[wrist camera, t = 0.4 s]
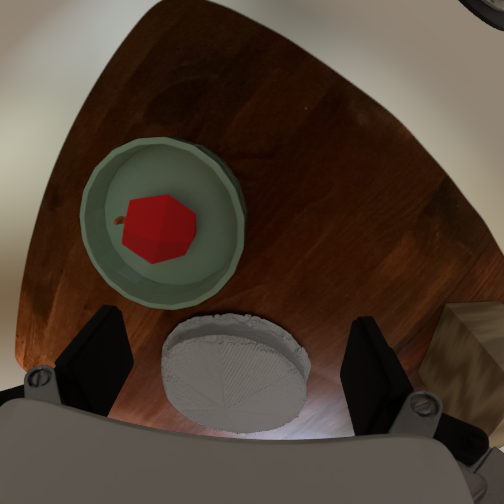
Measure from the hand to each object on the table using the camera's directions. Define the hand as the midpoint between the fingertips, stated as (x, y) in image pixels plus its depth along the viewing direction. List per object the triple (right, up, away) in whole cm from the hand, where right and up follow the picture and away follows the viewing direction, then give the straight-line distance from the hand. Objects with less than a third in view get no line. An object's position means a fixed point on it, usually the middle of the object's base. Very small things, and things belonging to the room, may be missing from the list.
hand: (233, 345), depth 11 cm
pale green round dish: (-8, +7, +18) cm, 21 cm away
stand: (+32, -9, +22) cm, 40 cm away
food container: (-2, -12, +25) cm, 28 cm away
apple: (-8, +7, +18) cm, 21 cm away
